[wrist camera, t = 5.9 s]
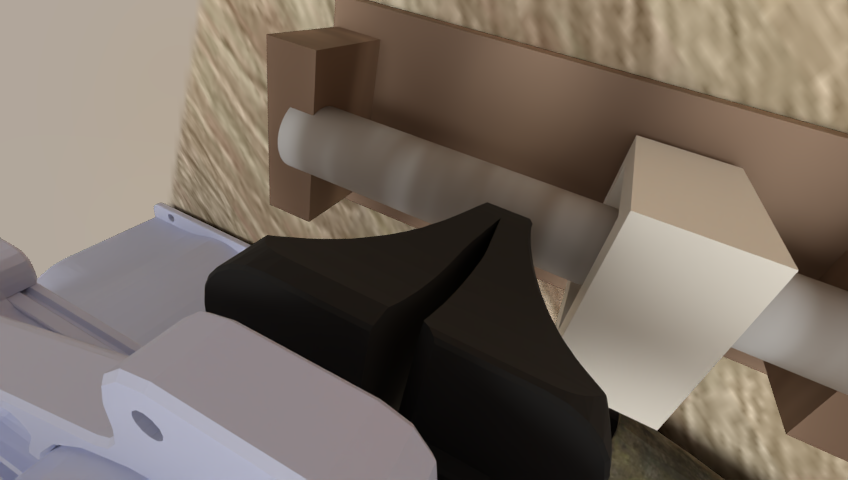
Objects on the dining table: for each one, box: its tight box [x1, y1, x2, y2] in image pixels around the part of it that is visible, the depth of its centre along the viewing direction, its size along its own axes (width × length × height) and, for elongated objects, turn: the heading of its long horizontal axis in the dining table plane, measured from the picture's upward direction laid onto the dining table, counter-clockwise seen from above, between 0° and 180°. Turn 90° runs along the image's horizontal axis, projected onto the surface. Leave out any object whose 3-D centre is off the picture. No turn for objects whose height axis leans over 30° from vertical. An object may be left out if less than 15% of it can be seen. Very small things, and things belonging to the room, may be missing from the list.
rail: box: [267, 0, 848, 461], centre depth 14 cm, size 20×8×5 cm, turn 78°
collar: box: [555, 135, 799, 430], centre depth 12 cm, size 3×5×6 cm, turn 168°
